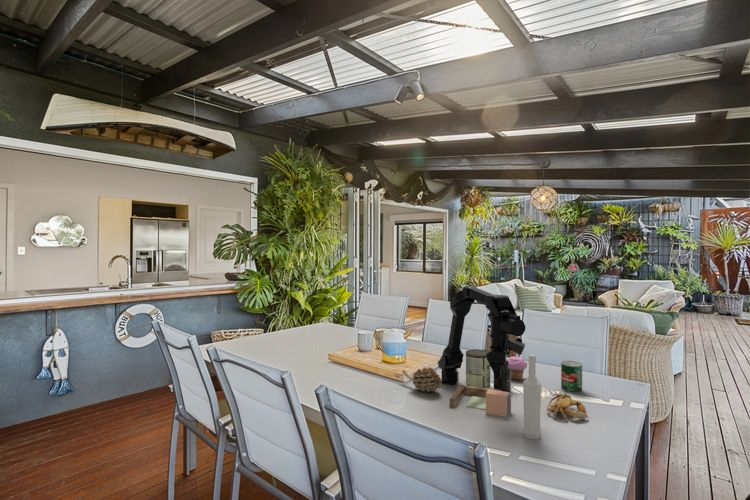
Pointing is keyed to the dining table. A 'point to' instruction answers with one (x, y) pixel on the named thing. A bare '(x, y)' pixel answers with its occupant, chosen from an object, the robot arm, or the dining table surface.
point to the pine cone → (425, 379)
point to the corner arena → (474, 401)
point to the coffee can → (477, 368)
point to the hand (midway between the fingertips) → (499, 375)
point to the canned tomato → (571, 377)
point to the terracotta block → (498, 403)
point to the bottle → (532, 402)
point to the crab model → (564, 403)
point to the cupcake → (517, 367)
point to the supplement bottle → (503, 379)
